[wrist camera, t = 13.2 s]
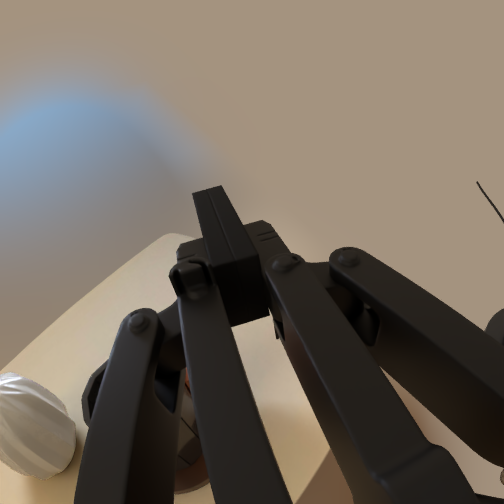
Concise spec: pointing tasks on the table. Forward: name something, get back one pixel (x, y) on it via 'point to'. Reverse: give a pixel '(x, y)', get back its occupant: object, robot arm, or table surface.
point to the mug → (188, 427)
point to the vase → (34, 428)
